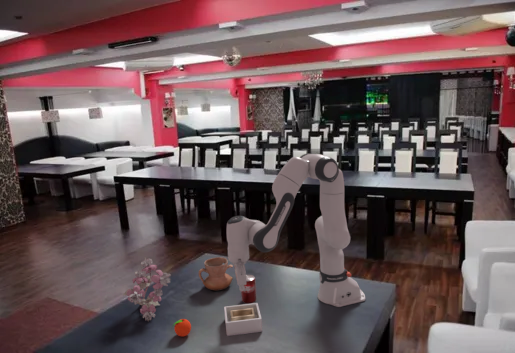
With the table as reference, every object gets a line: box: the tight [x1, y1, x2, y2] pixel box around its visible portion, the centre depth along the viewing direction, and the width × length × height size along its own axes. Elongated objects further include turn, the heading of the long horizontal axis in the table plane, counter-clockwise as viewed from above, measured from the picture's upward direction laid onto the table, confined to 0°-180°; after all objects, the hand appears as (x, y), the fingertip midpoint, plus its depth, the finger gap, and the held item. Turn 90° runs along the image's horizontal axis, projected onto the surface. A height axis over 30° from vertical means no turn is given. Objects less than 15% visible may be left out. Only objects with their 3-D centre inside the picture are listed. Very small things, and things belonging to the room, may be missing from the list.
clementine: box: [171, 318, 192, 338], centre depth 163 cm, size 8×7×7 cm
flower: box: [122, 257, 173, 322], centre depth 182 cm, size 20×22×25 cm
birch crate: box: [230, 308, 255, 321], centre depth 168 cm, size 10×6×5 cm, turn 98°
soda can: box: [240, 274, 257, 304], centre depth 188 cm, size 7×7×12 cm
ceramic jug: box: [198, 256, 234, 291], centre depth 203 cm, size 18×14×14 cm
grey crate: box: [223, 302, 263, 337], centre depth 168 cm, size 15×13×6 cm
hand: (240, 285), depth 165 cm, fingers open, 8 cm apart
